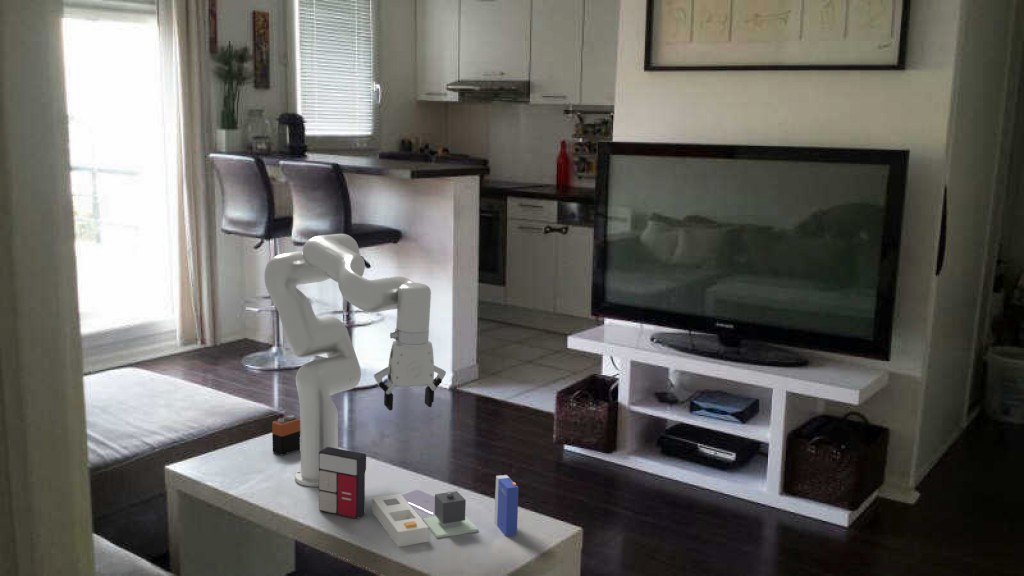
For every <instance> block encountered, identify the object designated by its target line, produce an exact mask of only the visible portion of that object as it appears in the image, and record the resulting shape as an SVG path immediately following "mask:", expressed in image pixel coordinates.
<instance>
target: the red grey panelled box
mask: <svg viewBox="0 0 1024 576" xmlns="http://www.w3.org/2000/svg"><path fill="white" fill-rule="evenodd" d="M366 470H367V454H366V453H363V452H359V451H351V450H347V449H342V448H338V449H337V448H331V447H327V448H325V449H323V450H321V451H319V487H318V510H319V511H320V512H324V513H330V514H334V515H339V516H344V517H349V518H353V519H359V518H361V517H362V516H363V515H364V514H365V512H366V511H365V509H366V507H365V506H366V504H365V503H366V502H365V501H366V500H365V498H366V483H365V482H366V479H365V478H366Z"/></svg>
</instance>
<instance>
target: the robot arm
mask: <svg viewBox="0 0 1024 576" xmlns="http://www.w3.org/2000/svg"><path fill="white" fill-rule="evenodd" d="M365 264H366V263H365V260H364V258H363V256H361V255H360V248H359V245H358V243H357V241H356V240H355V239H354V238H353V237H352V236H350V235H349V234H347V233H334V234H321V235H315V236H313V237H311V238H309V239H308V240H307V241H306V242H305V243H304V244H303V246H302V250H300V251H293V252H292V251H291V252H285V253H281V254H277V255H275V256H273V257H272V258H271V259H270V260H268V261H267V263H266V265H265V269H264V275H263V276H264V283H265V288H266V290H267V293H268V295H269V297H270V299H271V301H272V303H273V304H274V306H275V307H276V311H277V313H278V315H279V318H280V321H281V324H282V328H283V330H284V333H285V336H286V339H287V343H288V345H289V347H290V349H291V352H292V353H293V355H294V356H296V357H298V358H300V359H301V358H311V357H316V356H320V355H324V354H326V356H327V357H325V358H320V359H315V360H311V361H308V362H306V363H304V364H302V365H301V366H300V367H299V369H298V370H297V371H296V374H295V385H296V390H297V394H298V401H299V417H300V418H299V419H300V469H299V470H297V471H296V472H295V473H294V481H295V482H296V483H298V484H299V485H301V486H305V487H314V488H319V451H321V450H323V449H325V448H327V447H331V448H337V449H339V416H338V415H339V414H338V409H337V407H336V404H335V403H334V401H333V400H332V397H331V396H332V395H335V394H339V393H342V392H343V393H344V392H347V391H349V390H352V389H354V388H356V387H357V386H358V385H359V383H360V382H361V376H362V371H361V367H360V362H359V360H358V356H357V355H356V352H355V347H354V346H353V343H352V339H351V336H350V334H349V331H348V329H347V327H346V326H345V324H344V323H343V322H342V320H340V319H338V317H335V316H324V317H323V316H322V317H317V316H316V314H315V312H314V309H313V307H312V304H311V301H310V300H309V298H308V297H307V295H306V294H304V293H303V291H301V290H300V289H299V288H298V287H297V285H307V284H313V283H321V282H324V281H327V280H328V281H329V279H331V280H332V281H334V282H336V283H337V286H338V289H339V291H340V293H341V296H342V297H343V299H344V300H345V301H346V302H348V303H349V304H351V305H352V306H354V307H356V308H357V309H359V310H361V311H363V312H365V313H366V312H367V313H371V314H372V313H380V312H381V313H382V312H386V311H390V310H392V311H393V310H396V328H395V329H394V331H393V332H390V334H389V337H390V339H393V340H394V341H393V342H392V344H391V348H390V353H389V359H388V366H387V367H385V368H384V369H381V370H380V371H378V372H376V373H374V375H373V378H374V380H375V381H376V384H377V386H378V387H379V388H380V389H382V391H384V393H383V394H384V395H383V400H384V401H383V405H384V406H385V408H386V409H387V410H388V411H392V410H394V409H393V408H394V394H393V393H392V392H393V391H394V390H395V389H396V388H408V387H420V386H422V387H423V386H426V387H425V389H424V390H425V391H424V404H425V405H426V406H427V407H428V408H432V407H433V403H434V400H435V391H436V390H437V388H438V387H439V386H440V384H441V383H442V382H443V379H444V378H445V376H446V374H447V371H445V369H443V368H441V367H438V366H437V365H435V362H434V358H435V357H434V348H433V342H431V341H430V340H429V339H430V338H429V337H430V336H429V335H430V334H429V333H430V319H431V318H430V317H431V299H432V296H431V295H432V291H431V288H430V287H429V285H428V284H425V283H420V282H415V281H412V280H410V279H408V278H407V277H405V276H404V277H403V276H392V277H390V276H389V277H383V278H382V277H381V278H376V279H371V280H369V279H367V278H365V277H363V275H364V272H365V270H366V268H365V267H366V265H365ZM435 373H436V374H437V375H436V377H435ZM386 376H387V382H386V383H384V381H383V378H384V377H386Z"/></svg>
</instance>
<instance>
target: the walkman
mask: <svg viewBox="0 0 1024 576" xmlns="http://www.w3.org/2000/svg"><path fill="white" fill-rule="evenodd" d="M494 491H495V492H494V519H493V520H494V522H493V523H494V524H495V525H496V526H497V528H498V529H499V530H500V531H501V532H502V534H503V535H504V536H505V537H511V536H517V535H518V512H519V486H518V484H517V483H516V482H515V481H513V480H512V478H510V476H508V474H504V475H502V474H501V475H500V474H499V475H496V476H495V490H494Z"/></svg>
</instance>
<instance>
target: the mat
mask: <svg viewBox="0 0 1024 576" xmlns="http://www.w3.org/2000/svg"><path fill="white" fill-rule="evenodd" d="M421 519H422V520H423V521H424V523H425V524H426V525H427V526H428V530H429V531H430V532H431V533H432V534H433V535H434V537H435V538H436V539H440V538H446V537H452V536H458V535H459V536H460V535H464V534H470V533H476V532H477V533H478V532H479V531H478V530H479V529H478V527H477V526H476V525H475V524H474V523H473V522H472V521H471V520H470V519H469V518H468V517H467V516H466V515H465V520H464V521H461V526H455V527H449V528H444V527H443V526H442V525H441V524H440V522H439V519H438V518H437V517H436V516H428V517H422V518H421Z"/></svg>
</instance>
